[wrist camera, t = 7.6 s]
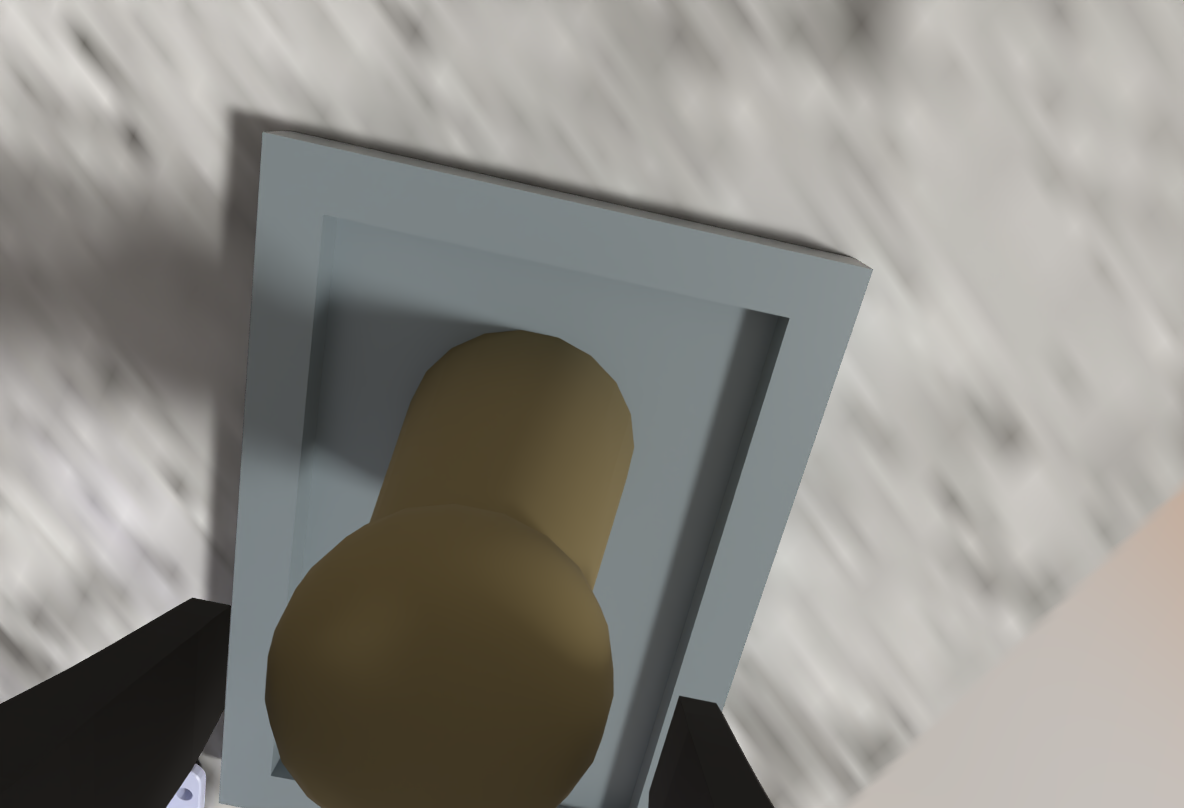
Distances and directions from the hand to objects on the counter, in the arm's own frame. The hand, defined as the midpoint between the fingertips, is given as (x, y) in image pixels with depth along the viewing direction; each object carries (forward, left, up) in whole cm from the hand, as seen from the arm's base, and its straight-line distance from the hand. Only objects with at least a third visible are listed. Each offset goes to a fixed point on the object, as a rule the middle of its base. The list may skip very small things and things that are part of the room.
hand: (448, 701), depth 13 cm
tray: (-3, 0, -10) cm, 10 cm away
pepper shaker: (+1, 0, -9) cm, 9 cm away
